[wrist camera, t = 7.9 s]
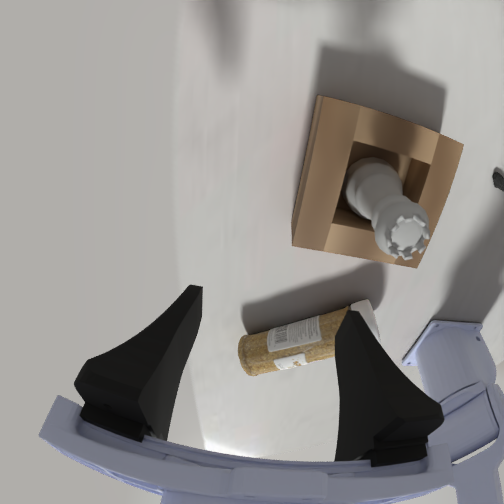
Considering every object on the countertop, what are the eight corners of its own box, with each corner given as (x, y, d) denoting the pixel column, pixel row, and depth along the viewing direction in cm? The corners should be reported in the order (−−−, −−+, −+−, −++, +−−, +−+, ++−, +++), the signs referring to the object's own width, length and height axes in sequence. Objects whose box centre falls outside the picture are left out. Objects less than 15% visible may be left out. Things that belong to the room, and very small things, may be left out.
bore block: (440, 134, 17) (463, 144, 14) (402, 244, 22) (416, 268, 19) (316, 95, 17) (323, 96, 14) (291, 222, 22) (292, 245, 19)
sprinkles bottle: (248, 385, 26) (384, 352, 22) (230, 347, 26) (372, 308, 22) (260, 362, 31) (378, 331, 26) (245, 327, 30) (367, 291, 26)
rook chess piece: (407, 186, 19) (457, 239, 12) (365, 222, 21) (397, 289, 14) (371, 142, 18) (419, 178, 11) (327, 183, 20) (349, 239, 13)
